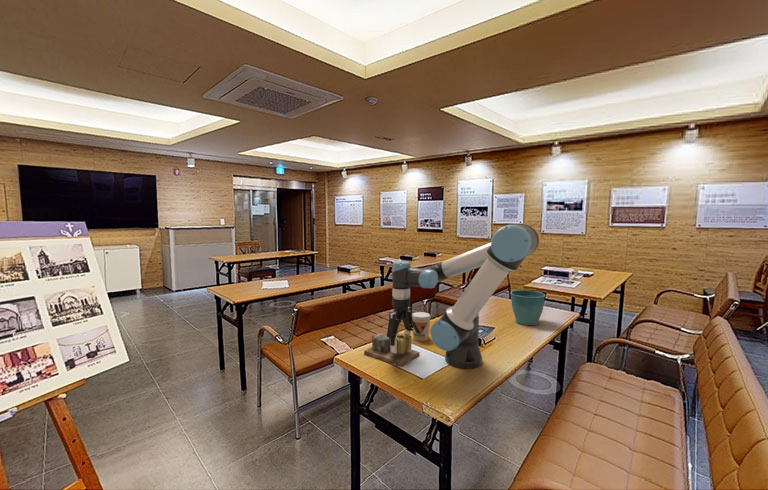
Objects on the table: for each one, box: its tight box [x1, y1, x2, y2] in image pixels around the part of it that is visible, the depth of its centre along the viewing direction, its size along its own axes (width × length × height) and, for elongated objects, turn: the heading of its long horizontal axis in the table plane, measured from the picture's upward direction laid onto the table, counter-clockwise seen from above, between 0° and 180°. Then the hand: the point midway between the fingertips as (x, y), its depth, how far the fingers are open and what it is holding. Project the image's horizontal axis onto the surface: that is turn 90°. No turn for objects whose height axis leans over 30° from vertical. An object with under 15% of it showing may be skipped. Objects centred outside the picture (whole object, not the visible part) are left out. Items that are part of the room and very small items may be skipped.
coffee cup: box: [412, 311, 431, 342], centre depth 165 cm, size 9×9×12 cm
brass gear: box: [390, 332, 413, 354], centre depth 142 cm, size 9×9×6 cm
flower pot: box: [510, 289, 546, 326], centre depth 188 cm, size 18×18×17 cm
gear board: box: [363, 332, 421, 367], centre depth 145 cm, size 20×14×8 cm
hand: (400, 348), depth 142 cm, fingers closed on brass gear, 9 cm apart
